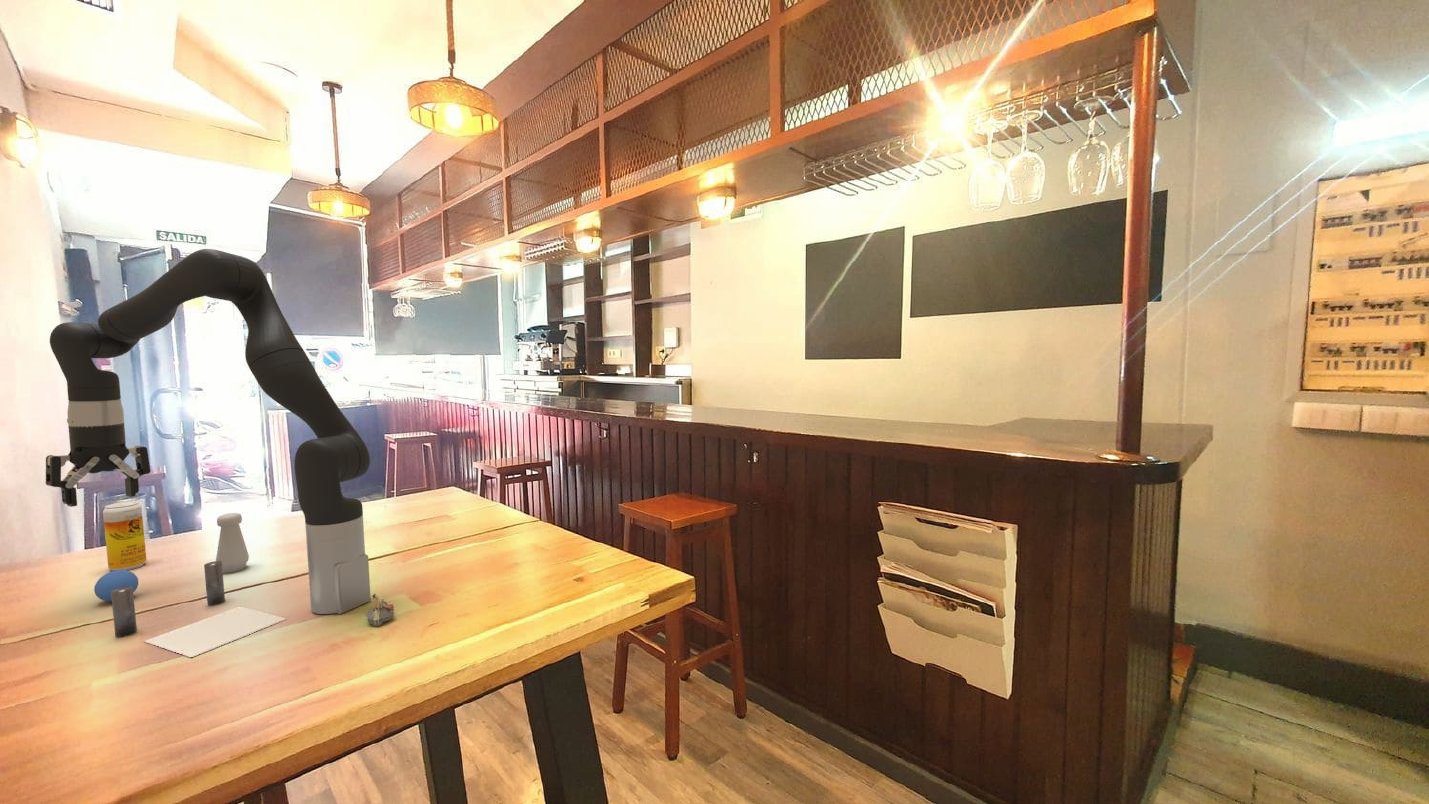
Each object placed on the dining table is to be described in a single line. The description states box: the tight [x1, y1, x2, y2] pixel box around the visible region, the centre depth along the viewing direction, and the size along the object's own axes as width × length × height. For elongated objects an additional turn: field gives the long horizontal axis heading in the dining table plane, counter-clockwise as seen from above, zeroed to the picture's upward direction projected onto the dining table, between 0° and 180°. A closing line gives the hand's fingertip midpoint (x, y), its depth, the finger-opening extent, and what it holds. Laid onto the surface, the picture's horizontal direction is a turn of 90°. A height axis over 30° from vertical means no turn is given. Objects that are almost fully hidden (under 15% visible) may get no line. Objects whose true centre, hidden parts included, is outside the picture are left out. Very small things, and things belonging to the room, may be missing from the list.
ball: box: [93, 570, 139, 603], centre depth 110 cm, size 6×6×6 cm
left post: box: [111, 587, 138, 638], centre depth 96 cm, size 3×3×8 cm
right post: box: [203, 560, 226, 606], centre depth 108 cm, size 3×3×8 cm
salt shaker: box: [215, 512, 250, 574], centre depth 125 cm, size 6×6×13 cm
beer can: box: [102, 500, 147, 572], centre depth 127 cm, size 6×6×15 cm
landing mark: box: [143, 605, 287, 658], centre depth 97 cm, size 14×14×1 cm
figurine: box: [365, 593, 395, 627], centre depth 100 cm, size 5×4×6 cm
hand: (102, 500), depth 112 cm, fingers open, 8 cm apart
